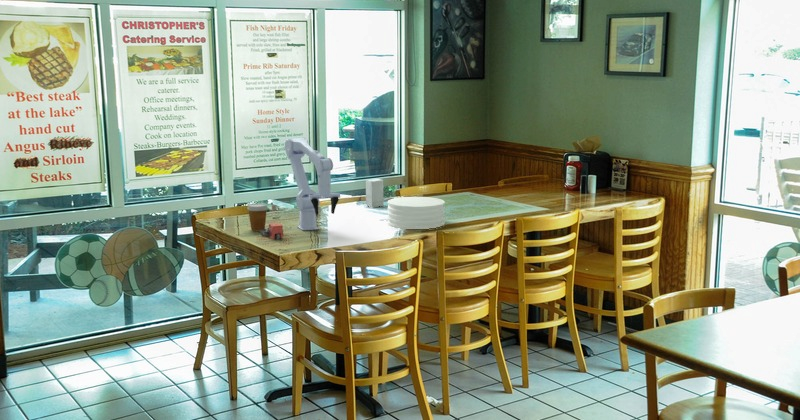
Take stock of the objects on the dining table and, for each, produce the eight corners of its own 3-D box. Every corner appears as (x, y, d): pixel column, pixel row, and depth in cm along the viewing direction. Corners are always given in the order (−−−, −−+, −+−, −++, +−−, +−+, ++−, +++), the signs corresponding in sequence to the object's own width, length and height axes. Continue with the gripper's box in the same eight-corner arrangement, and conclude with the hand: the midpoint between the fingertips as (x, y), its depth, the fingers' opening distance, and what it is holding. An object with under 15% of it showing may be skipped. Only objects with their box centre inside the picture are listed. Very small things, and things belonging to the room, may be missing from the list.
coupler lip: (261, 233, 390) (260, 227, 390) (280, 231, 394) (279, 226, 393) (268, 240, 377) (268, 233, 376) (288, 238, 380) (287, 232, 379)
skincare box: (377, 204, 465) (377, 178, 462) (384, 206, 460) (384, 179, 457) (365, 206, 459) (365, 179, 457) (371, 208, 455) (371, 180, 452)
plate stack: (451, 221, 421) (451, 198, 419) (434, 232, 395) (435, 208, 393) (399, 217, 431) (399, 195, 428) (379, 227, 405) (379, 204, 402)
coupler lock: (269, 236, 385) (268, 223, 383) (279, 235, 386) (278, 222, 385) (272, 239, 378) (272, 226, 377) (282, 238, 380) (282, 225, 379)
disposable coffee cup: (253, 232, 392) (252, 207, 389) (244, 229, 399) (243, 204, 397) (271, 230, 397) (271, 205, 395) (262, 227, 405) (261, 202, 402)
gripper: (311, 187, 379) (312, 216, 382) (342, 185, 385) (342, 214, 387) (307, 184, 386) (307, 213, 388) (337, 183, 391) (337, 211, 394)
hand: (324, 213), depth 388 cm, fingers open, 7 cm apart
